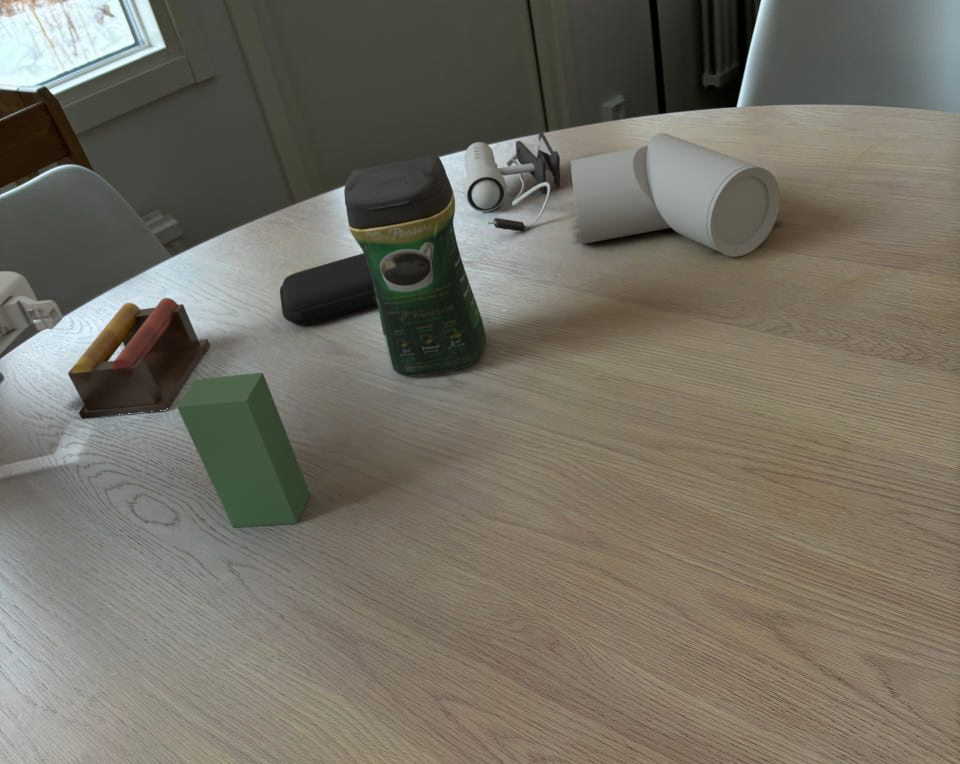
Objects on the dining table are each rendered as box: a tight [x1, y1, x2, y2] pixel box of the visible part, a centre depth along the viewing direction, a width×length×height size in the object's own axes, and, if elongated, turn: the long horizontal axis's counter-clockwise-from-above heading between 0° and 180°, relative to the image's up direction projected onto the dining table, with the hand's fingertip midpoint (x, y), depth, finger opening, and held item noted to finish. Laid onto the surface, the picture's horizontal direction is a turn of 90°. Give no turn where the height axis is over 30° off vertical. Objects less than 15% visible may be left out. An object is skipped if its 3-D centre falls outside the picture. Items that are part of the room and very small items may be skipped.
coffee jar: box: [343, 154, 487, 377], centre depth 97 cm, size 10×8×19 cm
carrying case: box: [279, 253, 378, 326], centre depth 115 cm, size 11×3×15 cm
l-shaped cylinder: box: [570, 132, 781, 258], centre depth 108 cm, size 18×11×20 cm
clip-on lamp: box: [463, 131, 561, 233], centre depth 124 cm, size 12×6×18 cm
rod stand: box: [67, 297, 211, 420], centre depth 110 cm, size 10×13×6 cm
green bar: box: [176, 372, 311, 528], centre depth 86 cm, size 6×4×12 cm, turn 80°
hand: (26, 343), depth 80 cm, fingers open, 8 cm apart
